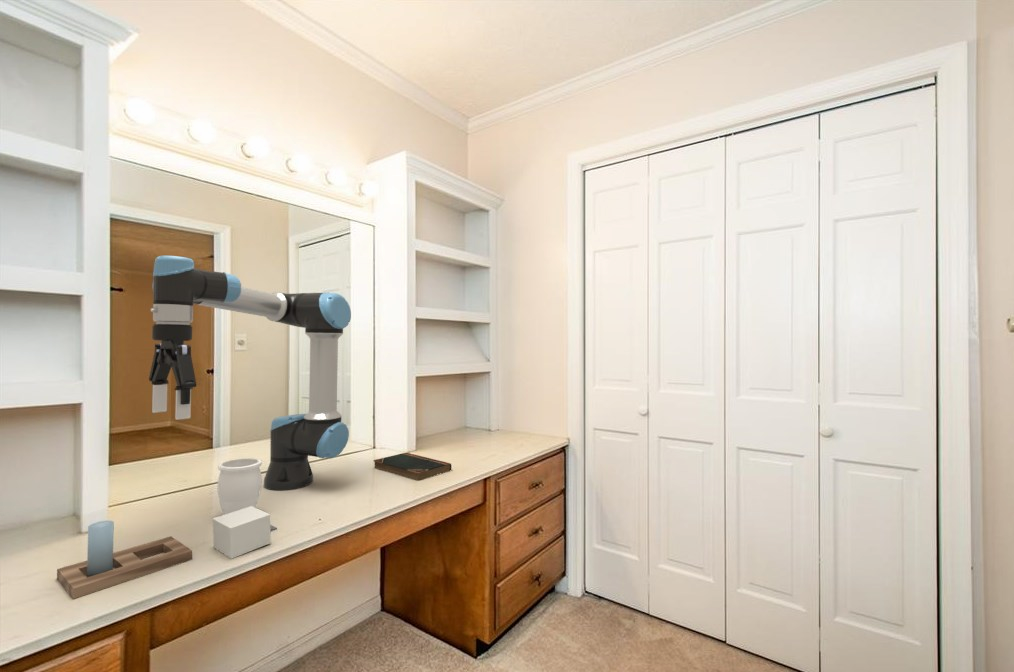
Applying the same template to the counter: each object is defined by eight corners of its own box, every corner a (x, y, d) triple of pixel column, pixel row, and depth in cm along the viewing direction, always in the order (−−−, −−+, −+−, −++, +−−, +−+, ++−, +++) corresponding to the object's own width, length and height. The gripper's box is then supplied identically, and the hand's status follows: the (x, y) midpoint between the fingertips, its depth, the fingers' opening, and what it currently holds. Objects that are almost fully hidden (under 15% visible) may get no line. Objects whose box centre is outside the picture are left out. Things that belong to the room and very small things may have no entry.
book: (372, 469, 179) (417, 482, 164) (372, 460, 179) (417, 472, 164) (407, 460, 193) (451, 471, 178) (407, 451, 193) (451, 462, 178)
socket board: (57, 578, 95) (57, 569, 95) (170, 544, 112) (171, 536, 112) (73, 599, 88) (73, 588, 88) (192, 559, 105) (192, 550, 105)
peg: (84, 578, 96) (85, 525, 96) (108, 570, 99) (110, 519, 99) (90, 584, 94) (91, 530, 94) (115, 576, 97) (116, 523, 97)
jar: (251, 506, 137) (252, 455, 137) (267, 516, 130) (268, 462, 130) (210, 517, 129) (212, 463, 129) (225, 527, 122) (226, 470, 122)
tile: (241, 530, 120) (241, 526, 120) (265, 523, 125) (265, 519, 125) (253, 537, 117) (253, 532, 117) (276, 529, 122) (276, 525, 122)
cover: (213, 547, 111) (212, 518, 110) (252, 533, 118) (251, 505, 118) (231, 558, 106) (230, 528, 105) (270, 542, 113) (270, 514, 113)
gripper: (133, 322, 112) (131, 411, 112) (175, 323, 98) (173, 424, 98) (170, 323, 118) (168, 407, 118) (215, 324, 104) (212, 419, 104)
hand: (170, 415), depth 108 cm, fingers open, 13 cm apart
